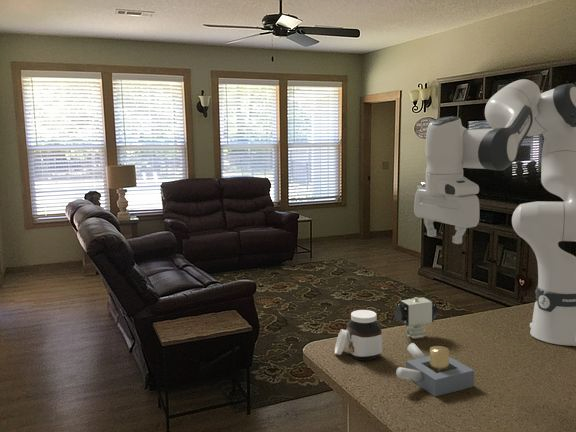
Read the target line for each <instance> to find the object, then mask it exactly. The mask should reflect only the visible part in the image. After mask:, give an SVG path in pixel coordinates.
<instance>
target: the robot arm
mask: <svg viewBox="0 0 576 432" xmlns="http://www.w3.org/2000/svg"><path fill="white" fill-rule="evenodd" d="M484 117H485V121H486V122H487V124H488V125H489V126H490V127H491V128H481V129H478V128H476V129H468V128H466V127H465V126H463V124H462V119H461V117H458V116H444V117H438V118H434V119H433V120H431V121H430V122H429V123H428V125H427V128H426V135H425V145H424V146H425V150H424V152H425V154H424V155H425V159H426V168H425V181H420V183H419V184H418V185H417V186H416V192H415V195H414V202H413V213H414V215H415V217H416V218H421V219H423V224H424V226H425V228H426V235H427V236H428V237H431V238H434V237H436V236H437V229H435V226H434V223H435V222H437V223H442V224H447V225H452V226H454V230H455V234H454V235H452V238H451V239H452V240H451V241H452V243H453V244H456V245H461V244H462V243H463V236H464V235H465V233H466V231H467V229H471V228H475V227H477V226H478V224H479V222H480V200H479V197H478V196H477V194H479V192H480V187H479V184H477V183H476V182H474V181H471V180H470V179H468V178H467V177H465V176H464V168H465V169H484V170H485V169H486V170H491V171H504V170H506V169H507V168H509V167H510V166H511V165H512V164H513V163H515V161H516V158H517V155H518V153H519V149H520V147H521V145H522V144H523V142H524V140H527V139H531V138H533V137H535V136H538V135H542V136H543V138H544V140H543V144H542V150H541V165H540V166H541V167H540V168H541V173H540V174H541V175H540V176H541V177H540V183H541V185H542V186H543V188H544V189H545V190H546V191H547V192H549V193H550V194H553V195H555V196H557V197H559V198H560V199H562V200H563V201H545V200H544V201H538V200H537V201H531V202H524V203H519V205H518V206H516V208H515V209H514V211H513V213H512V216H511V225H512V228H513V230H514V232H515V233H516V234H517V236H519V237H520V238H522V239H523V240H524V241H525V242H526V243H527V244H528V245H529V246H530V248H531V249H532V251H533V253H534V254H535V258H536V261H537V275H538V276H537V277H538V279H537V282H538V283H537V286H536V289H535V299H536V301H535V302H534V307H533V314H532V319H531V322H529V328H530V331H529V334H530V335H531V336H532V337H533V338H535V339H537V340H539V341H541V342H545V343H548V344H552V345H553V344H554V345H559V346H573V347H576V256H575V255H574V254H572V253H570V252H567V251H565V250H564V249H562V248H561V247H560V246H559V242H576V85H575V84H573V83H565V84H561V85H557V86H556V87H554V88H552V89H550V90H546V91H544V92H541V89H540V87H539V86H538V84H536V83H535V81H532V80H529V79H526V78H524V79H518V80H515V81H512V82H511V83H508V84H507V85H505V86H504V87H502V88H500V89H499V90H498V91H497V92H496V93H494V94H493V95H492V96H491V97H490V98H489V99H488V101H487V102H486V105H485V108H484Z"/></svg>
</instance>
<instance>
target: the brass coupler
mask: <svg viewBox="0 0 576 432" xmlns="http://www.w3.org/2000/svg"><path fill="white" fill-rule="evenodd" d="M429 356H430V369H431V370H433V371H434V372H436V373H440V372H444V371H448V370H449V357H450V349H449V348H448V347H445V346H442V345H434V346H430V348H429Z"/></svg>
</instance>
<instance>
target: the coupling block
mask: <svg viewBox="0 0 576 432" xmlns="http://www.w3.org/2000/svg"><path fill="white" fill-rule="evenodd" d="M407 351H408V352H409V353H410V354H411V355H412V356H413V358H414V359H409V360H406V361H405V366H406V367H400V366H399V367H397V368H396V370H395V371H396V372H395V373H396V377H397V378H398V379H402V380H409V381H412V382H413V383H415V384H416V385H418V386H419V387H420V388H421V389H423V390H425V391H426V392H428V394H430V395H432V396H434V397H439V396H443V395H446V394H450V393H454V392H458V391H459V392H460V391H463V390H465V389H467V390H468V389H469V388H473V387H474V385H475V383H474V382H475V369H472V368H471V367H469V366H467V365H466V364H464V363H462V362H460V361H458V360H456V359H455V358H453V357H451V356H449V370H448V371H444V372H440V373H436V372H434V371H433V370H431V369H430V355H425V354H424V353H423V351H422V350H421V349H420V348H419V347H418V346H417V345H416V344H415V343H414V342H411V343H410V344H409V345H408V346H407Z"/></svg>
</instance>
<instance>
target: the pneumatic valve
mask: <svg viewBox="0 0 576 432" xmlns="http://www.w3.org/2000/svg"><path fill="white" fill-rule="evenodd" d="M438 310H439V309H438V306H437V303H436V302H434V300H432V299H430V298H427V296H426V297H425V296H424V297H418V296H415V297H413V298H407V299H403V300H401V299H400V300H398V304H397V306H395V308H394V316H395V319H396V320H397V322H399V323H401V324H403V325H404V326H406V327H407V328H406V330H405V331H406V335H407V336H408V337H411V339H413V340H417V339H424V338H425V335H426V333H427V328H426V327H425V326H423V325H424V324H429V323H430V324H431V323H434V322H435V317H436V316H437V315H438V313H439V311H438Z"/></svg>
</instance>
